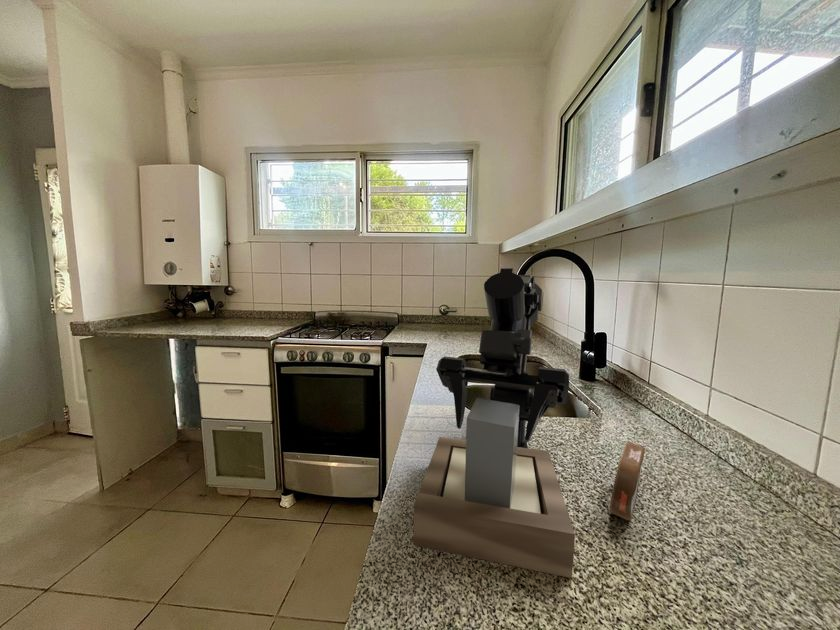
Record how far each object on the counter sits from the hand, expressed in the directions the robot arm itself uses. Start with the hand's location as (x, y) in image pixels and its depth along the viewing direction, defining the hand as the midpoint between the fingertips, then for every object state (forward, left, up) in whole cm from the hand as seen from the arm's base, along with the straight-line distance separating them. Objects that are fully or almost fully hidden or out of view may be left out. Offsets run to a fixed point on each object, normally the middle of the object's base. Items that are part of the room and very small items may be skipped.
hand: (491, 433), depth 44 cm
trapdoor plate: (-4, 0, -10) cm, 11 cm away
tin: (-11, +21, -14) cm, 28 cm away
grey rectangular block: (-1, 0, -9) cm, 9 cm away
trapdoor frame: (-4, 0, -14) cm, 14 cm away
